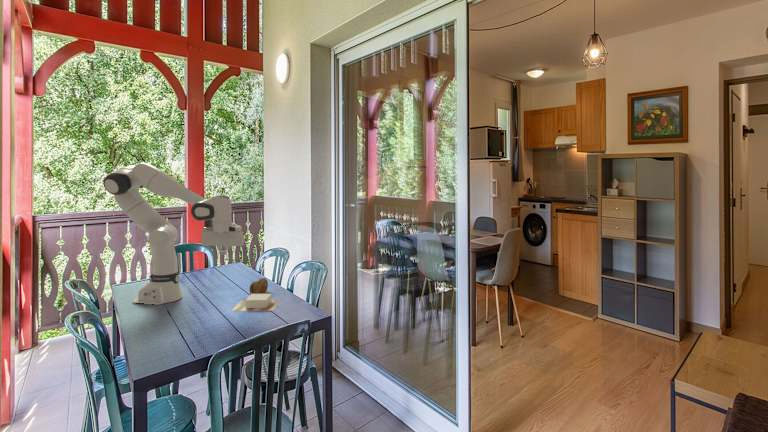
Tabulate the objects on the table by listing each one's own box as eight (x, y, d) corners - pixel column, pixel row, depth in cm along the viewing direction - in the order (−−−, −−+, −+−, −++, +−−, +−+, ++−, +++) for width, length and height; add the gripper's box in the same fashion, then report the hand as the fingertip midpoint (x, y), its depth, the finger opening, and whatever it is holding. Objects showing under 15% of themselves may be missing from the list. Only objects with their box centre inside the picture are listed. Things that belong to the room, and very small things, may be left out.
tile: (245, 300, 182) (266, 300, 183) (251, 293, 192) (271, 293, 193) (245, 308, 183) (266, 308, 183) (251, 301, 193) (271, 301, 193)
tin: (254, 299, 198) (253, 284, 197) (248, 299, 199) (248, 283, 198) (268, 291, 213) (268, 276, 212) (263, 290, 213) (263, 276, 212)
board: (230, 312, 179) (230, 311, 179) (241, 301, 194) (241, 300, 194) (272, 311, 180) (272, 310, 180) (280, 301, 195) (280, 300, 195)
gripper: (198, 227, 183) (199, 255, 184) (240, 228, 183) (241, 256, 185) (204, 226, 189) (204, 253, 190) (245, 226, 190) (245, 253, 191)
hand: (223, 254), depth 188 cm, fingers closed
